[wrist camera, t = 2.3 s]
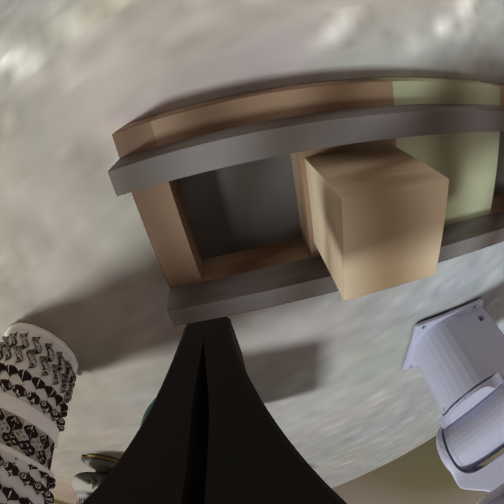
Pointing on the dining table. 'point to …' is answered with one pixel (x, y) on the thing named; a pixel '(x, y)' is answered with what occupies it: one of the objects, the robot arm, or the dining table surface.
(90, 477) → the apothecary jar
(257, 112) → the trap box
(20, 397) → the black and white cylinder
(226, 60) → the dining table surface
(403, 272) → the maple block
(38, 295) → the dining table surface
